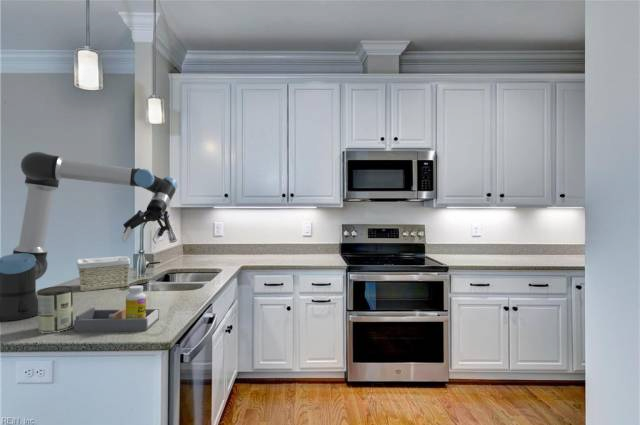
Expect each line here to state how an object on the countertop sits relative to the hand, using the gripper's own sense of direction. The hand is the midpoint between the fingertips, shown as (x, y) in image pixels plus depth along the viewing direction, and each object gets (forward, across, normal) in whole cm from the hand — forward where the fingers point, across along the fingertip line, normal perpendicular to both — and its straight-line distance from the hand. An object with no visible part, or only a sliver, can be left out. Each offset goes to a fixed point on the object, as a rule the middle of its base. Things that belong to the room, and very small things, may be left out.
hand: (138, 241), depth 162 cm
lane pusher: (+34, -5, -4) cm, 35 cm away
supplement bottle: (+34, -12, -5) cm, 36 cm away
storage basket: (-5, +42, -46) cm, 62 cm away
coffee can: (+40, +13, 0) cm, 42 cm away
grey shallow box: (+35, -6, -5) cm, 36 cm away
